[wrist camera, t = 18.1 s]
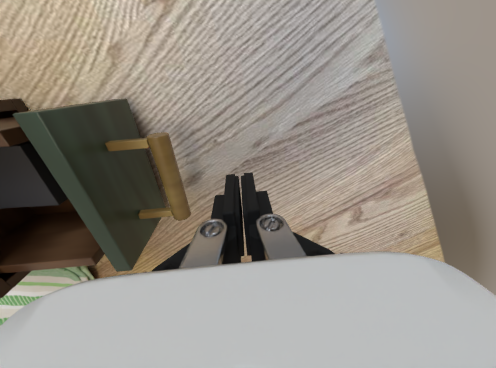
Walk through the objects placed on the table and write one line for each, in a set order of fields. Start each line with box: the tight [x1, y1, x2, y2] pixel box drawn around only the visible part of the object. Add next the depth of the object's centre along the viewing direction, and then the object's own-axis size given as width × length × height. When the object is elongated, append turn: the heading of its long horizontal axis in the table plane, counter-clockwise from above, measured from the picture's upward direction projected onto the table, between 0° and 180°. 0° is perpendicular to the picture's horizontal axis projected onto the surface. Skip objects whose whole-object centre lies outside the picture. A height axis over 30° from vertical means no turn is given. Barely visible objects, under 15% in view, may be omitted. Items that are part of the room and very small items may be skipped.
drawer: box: [0, 99, 191, 274], centre depth 14 cm, size 18×11×8 cm, turn 94°
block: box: [0, 141, 68, 209], centre depth 14 cm, size 4×4×4 cm
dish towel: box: [0, 266, 94, 326], centre depth 28 cm, size 18×23×3 cm
